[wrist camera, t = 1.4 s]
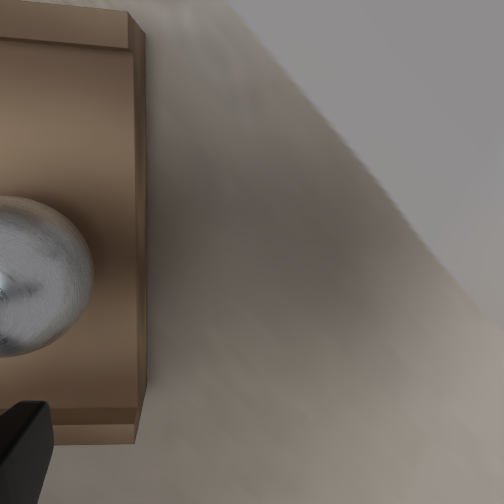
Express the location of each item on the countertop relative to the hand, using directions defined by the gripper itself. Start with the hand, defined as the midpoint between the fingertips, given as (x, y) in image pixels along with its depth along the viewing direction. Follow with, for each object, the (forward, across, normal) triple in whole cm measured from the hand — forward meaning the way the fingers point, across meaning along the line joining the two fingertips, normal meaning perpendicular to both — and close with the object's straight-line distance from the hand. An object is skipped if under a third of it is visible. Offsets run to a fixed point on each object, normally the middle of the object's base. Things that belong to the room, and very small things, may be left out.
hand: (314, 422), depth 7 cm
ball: (+7, +8, +1) cm, 11 cm away
